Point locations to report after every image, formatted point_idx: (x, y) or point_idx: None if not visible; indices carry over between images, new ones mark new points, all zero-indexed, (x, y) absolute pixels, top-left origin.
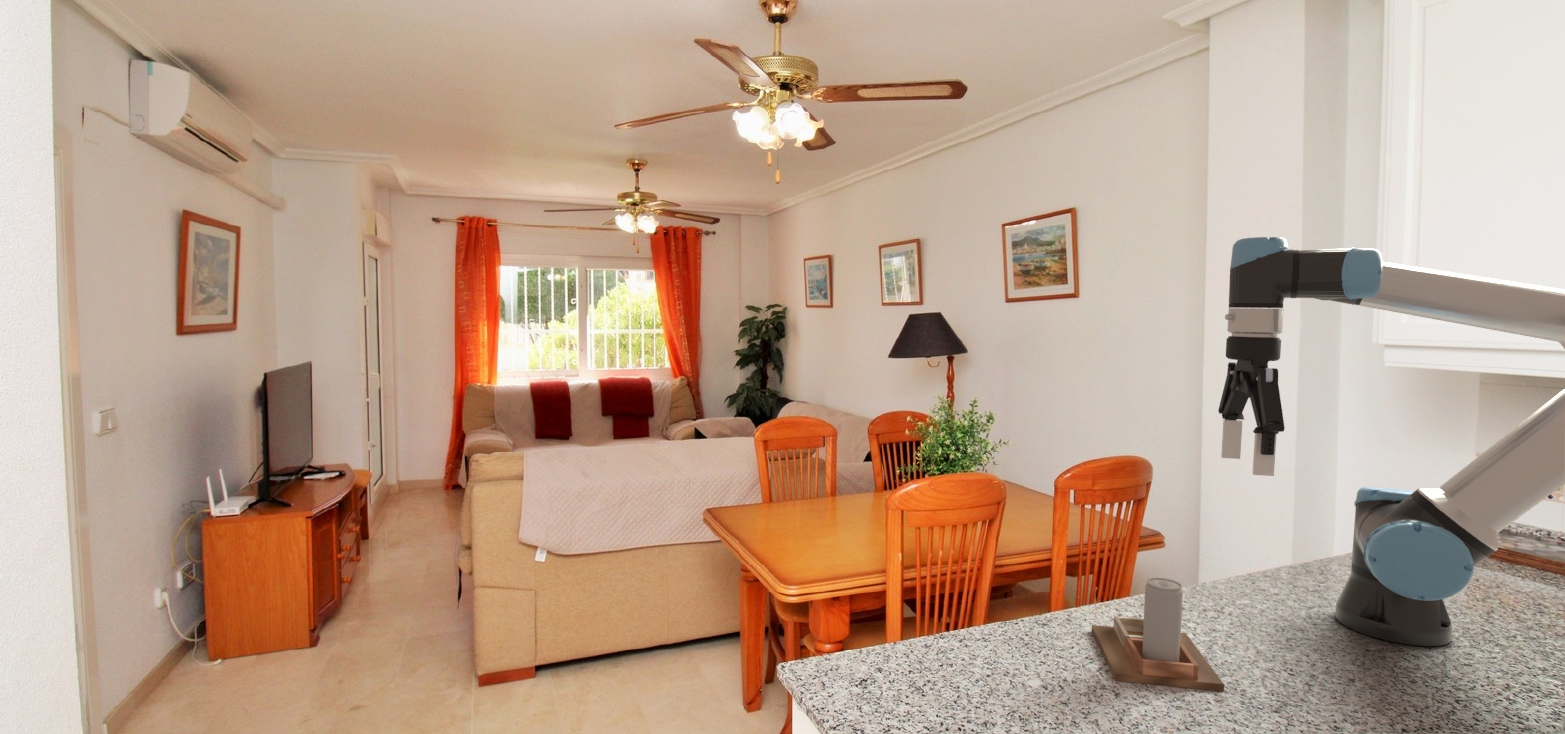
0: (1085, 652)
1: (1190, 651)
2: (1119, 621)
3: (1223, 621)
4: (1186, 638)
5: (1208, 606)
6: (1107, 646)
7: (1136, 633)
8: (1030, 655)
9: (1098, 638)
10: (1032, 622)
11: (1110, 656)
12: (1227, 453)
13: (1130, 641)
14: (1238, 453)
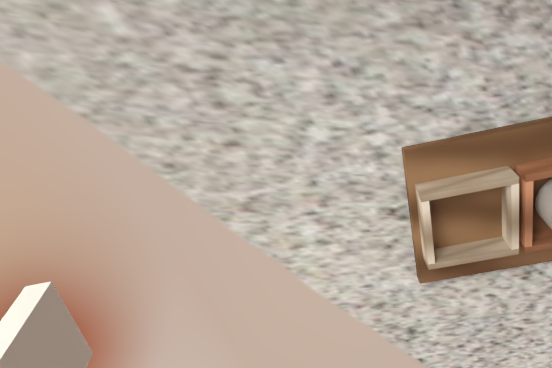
0: (506, 280)
1: (493, 149)
2: (452, 262)
3: (272, 73)
4: (431, 152)
5: (192, 95)
6: (505, 261)
7: (434, 225)
8: (535, 336)
9: (475, 273)
10: (410, 344)
11: (544, 257)
12: (70, 359)
13: (540, 246)
14: (43, 314)
